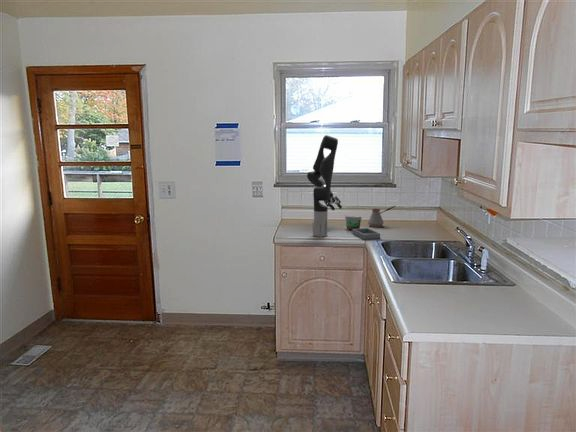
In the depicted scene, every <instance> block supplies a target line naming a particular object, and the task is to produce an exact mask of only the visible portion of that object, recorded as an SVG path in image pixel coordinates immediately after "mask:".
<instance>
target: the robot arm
mask: <svg viewBox="0 0 576 432" xmlns="http://www.w3.org/2000/svg"><path fill="white" fill-rule="evenodd" d="M338 139H339V138H336V137H333V136H331V135H327V134H326V135H324V136H323V138H322V140H321V143H320V146H319V148H318V153H317V156H316V158H315V161H314V163H313V166H312V169H313V170H312V171H309V172H307V174H306V178H307V180H308V182H310V183H311V184H312V185H314V186H315V187H314V188H313V194H312V195H313V222H312V236H313V237H317V238H323V237H327V236H328V207H329V208H330V209H331V210H332V211H335V210H336V208H335V206H334V205H336V206H337V207H338V209H339V210H341V209H343V206H342V204H341V200H340V198H338V197H337V195H336V196H334V193H333V191H332V190H331V187H332V179H333V173H334V167H335V160H336V159H335V157H336V153H337V149H338V144H339V140H338ZM325 149H326V150H328V151H329V150H330V152H329V154H328V155H326V157H325V154H324V150H325ZM320 178H322V179H320ZM321 202H324V204H323V203H321ZM333 204H334V205H333Z"/></svg>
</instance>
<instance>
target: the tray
mask: <svg viewBox="0 0 576 432" xmlns="http://www.w3.org/2000/svg"><path fill="white" fill-rule="evenodd" d="M351 234H352V235H353V236H355V237H357V238H359V239H360V240H363V241H366V240H368V241H369V240H379V239H381V232H378V231H376V230H373V229H371V228H370V227H363V228H361V227H360V229H352V231H351Z"/></svg>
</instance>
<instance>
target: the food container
mask: <svg viewBox="0 0 576 432" xmlns="http://www.w3.org/2000/svg"><path fill="white" fill-rule="evenodd" d="M362 219H363V218H362V216H357V217H356V216H347V215H345V216H344V220H345V222H346V223H345V224H346V231H349V232H352V229H360V228H361V221H362Z"/></svg>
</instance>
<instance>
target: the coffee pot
mask: <svg viewBox="0 0 576 432" xmlns="http://www.w3.org/2000/svg"><path fill="white" fill-rule="evenodd" d="M394 208H397V207H396V205H393V206H391V207H388V208H386V209H385V210H383V211H381V208H372V209H371V211H372V213H371V215H370V217H369V219H368V222H367V224H368V225H369V226H370V227H372V228H381V226H383V224H384V220H383V218H382V214H383V213H384V212H385V213H386V212H387V211H390V210H392V209H394Z"/></svg>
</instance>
